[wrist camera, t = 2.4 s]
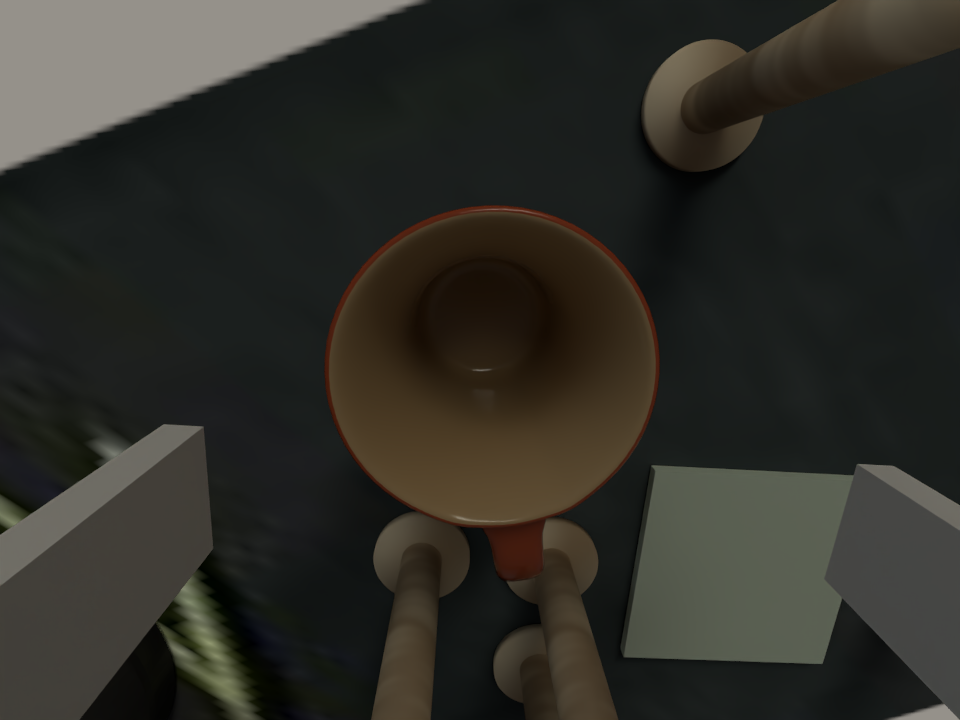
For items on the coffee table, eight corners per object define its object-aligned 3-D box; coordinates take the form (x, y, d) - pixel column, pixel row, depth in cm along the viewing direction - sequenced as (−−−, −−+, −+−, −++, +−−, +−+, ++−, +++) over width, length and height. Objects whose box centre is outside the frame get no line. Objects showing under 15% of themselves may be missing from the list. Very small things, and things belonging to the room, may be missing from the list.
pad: (620, 648, 29) (623, 657, 28) (651, 465, 26) (655, 470, 25) (815, 654, 29) (822, 663, 28) (867, 476, 26) (876, 481, 26)
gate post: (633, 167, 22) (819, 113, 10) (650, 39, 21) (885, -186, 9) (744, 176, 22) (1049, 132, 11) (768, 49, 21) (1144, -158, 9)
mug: (366, 225, 22) (287, 232, 12) (569, 196, 22) (652, 180, 12) (414, 476, 26) (382, 641, 16) (592, 452, 25) (672, 602, 16)
